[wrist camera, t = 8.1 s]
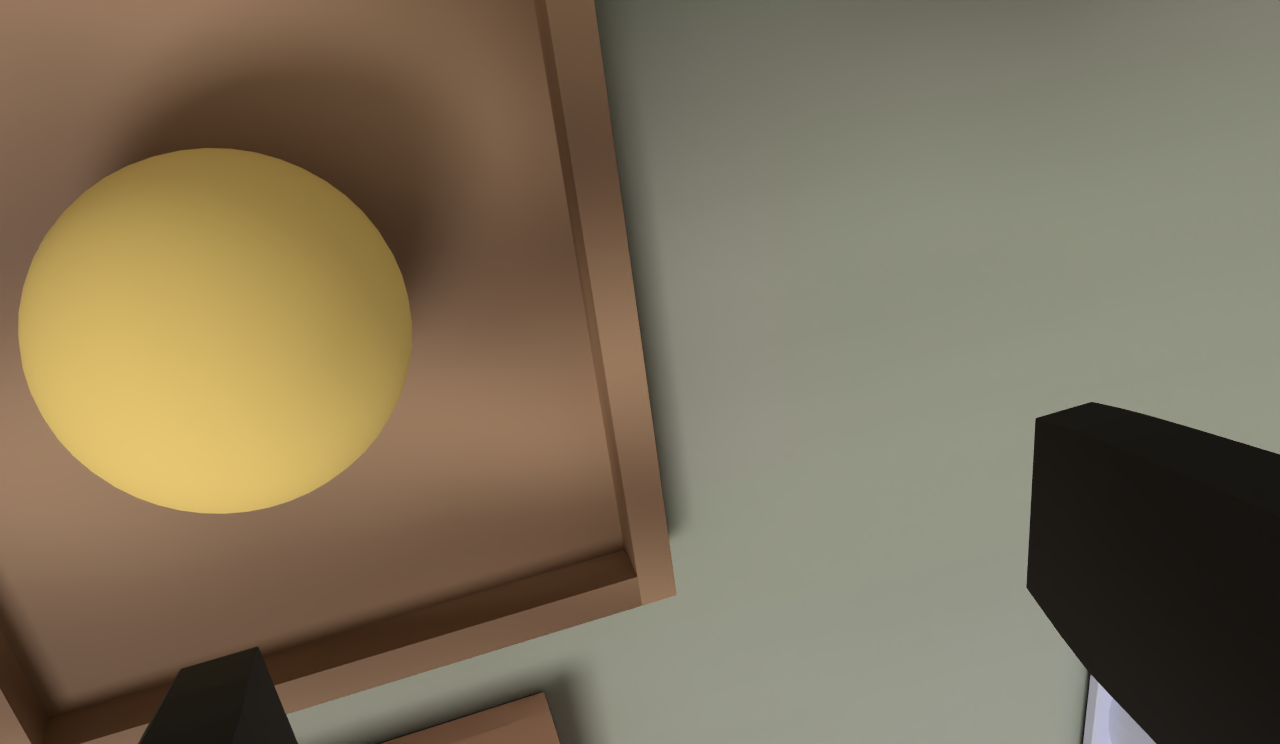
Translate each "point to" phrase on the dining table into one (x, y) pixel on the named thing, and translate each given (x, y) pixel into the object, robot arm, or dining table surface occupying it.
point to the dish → (494, 726)
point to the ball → (215, 330)
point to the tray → (438, 367)
